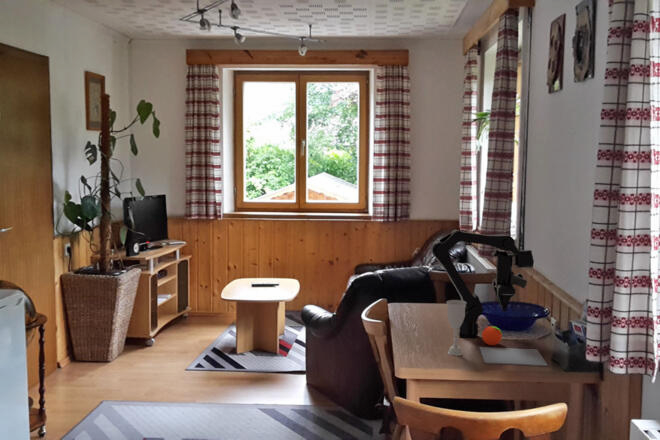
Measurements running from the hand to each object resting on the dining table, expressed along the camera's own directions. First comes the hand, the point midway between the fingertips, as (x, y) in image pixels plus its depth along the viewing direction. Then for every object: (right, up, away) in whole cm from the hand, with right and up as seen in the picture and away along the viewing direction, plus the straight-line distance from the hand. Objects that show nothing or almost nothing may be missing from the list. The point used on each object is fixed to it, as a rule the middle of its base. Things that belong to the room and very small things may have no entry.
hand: (502, 308), depth 245 cm
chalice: (-22, -13, -21) cm, 33 cm away
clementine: (-6, -12, -11) cm, 17 cm away
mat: (-3, -13, -25) cm, 28 cm away
